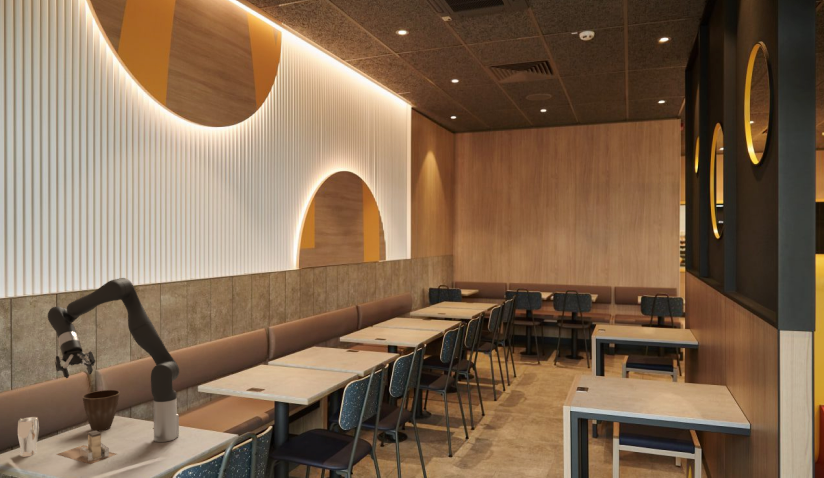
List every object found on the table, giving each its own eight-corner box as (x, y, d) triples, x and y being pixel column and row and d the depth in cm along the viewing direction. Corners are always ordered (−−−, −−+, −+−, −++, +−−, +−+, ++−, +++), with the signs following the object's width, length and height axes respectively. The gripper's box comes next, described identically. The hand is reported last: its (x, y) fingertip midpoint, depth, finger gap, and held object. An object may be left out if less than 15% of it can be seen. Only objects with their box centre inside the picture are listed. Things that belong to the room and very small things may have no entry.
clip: (80, 456, 218) (80, 447, 218) (100, 450, 223) (100, 442, 223) (88, 462, 212) (88, 453, 212) (108, 456, 217) (108, 448, 217)
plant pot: (98, 422, 262) (98, 389, 262) (127, 423, 260) (126, 390, 260) (74, 433, 247) (74, 398, 247) (105, 435, 245) (104, 399, 245)
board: (83, 447, 230) (83, 445, 230) (117, 456, 220) (117, 453, 220) (56, 457, 220) (56, 454, 220) (90, 467, 210) (90, 464, 210)
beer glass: (28, 460, 217) (27, 422, 217) (13, 459, 218) (13, 421, 218) (43, 453, 224) (42, 417, 224) (28, 452, 225) (28, 416, 225)
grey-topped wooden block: (88, 455, 218) (87, 432, 218) (96, 452, 220) (96, 430, 220) (92, 458, 215) (92, 435, 215) (100, 456, 217) (100, 433, 217)
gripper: (52, 341, 231) (61, 373, 224) (90, 337, 242) (99, 366, 234) (49, 352, 235) (57, 383, 227) (86, 347, 246) (95, 377, 238)
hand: (79, 375), depth 231 cm, fingers open, 8 cm apart
